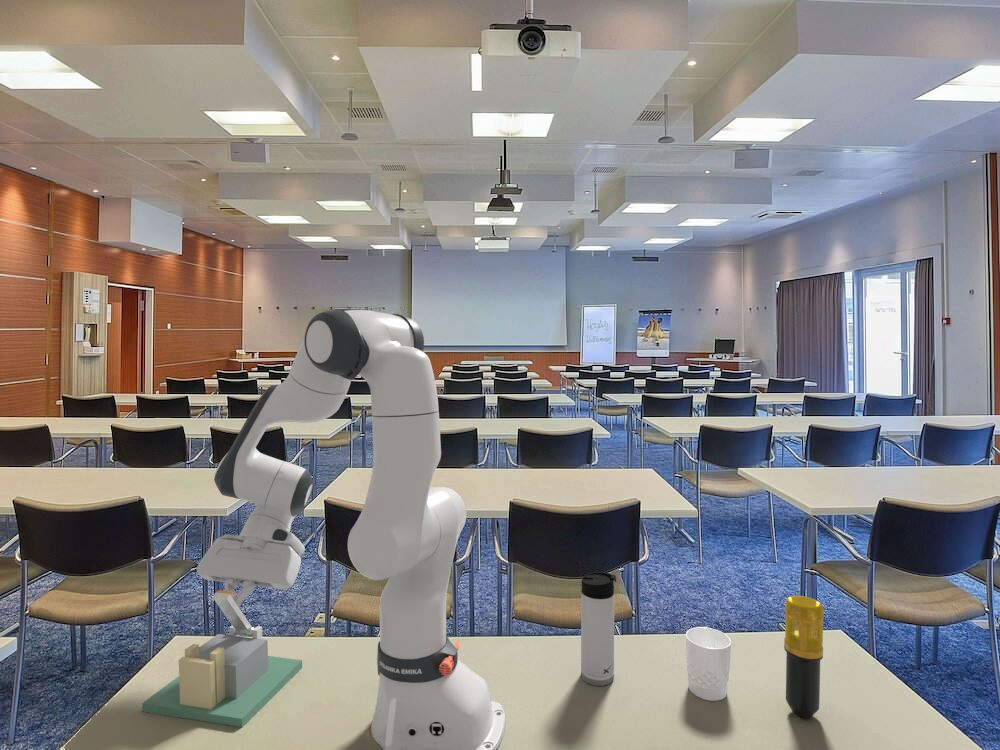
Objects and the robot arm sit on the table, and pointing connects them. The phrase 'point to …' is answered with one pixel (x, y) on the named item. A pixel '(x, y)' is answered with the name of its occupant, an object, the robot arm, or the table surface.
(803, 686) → the microphone
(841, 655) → the table surface
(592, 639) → the travel mug
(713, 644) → the white cup
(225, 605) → the retention strap
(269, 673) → the base
